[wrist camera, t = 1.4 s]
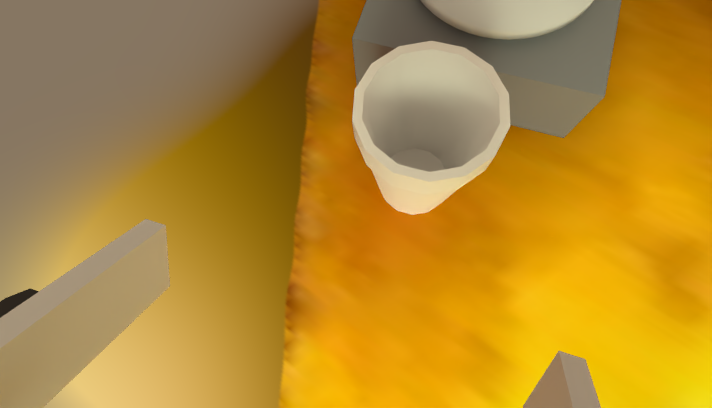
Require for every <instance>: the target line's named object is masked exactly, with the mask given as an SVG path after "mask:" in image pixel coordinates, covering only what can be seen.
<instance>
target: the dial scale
mask: <svg viewBox="0 0 712 408" xmlns="http://www.w3.org/2000/svg"><path fill="white" fill-rule="evenodd" d="M620 5H621V0H367V1H366V3H365V6H364V9H363V11H362V14H361V16H360V19H359V22H358V24H357V27H356V29H355V32H354V35H353V37H352V42H353V52H354V61H355V71H356V81H357V85H358V84H359V82H360V81H361V79H362V78H363V76H364V74H365V73H366V71H367V70H368V68H369V67H370V65H371V64H372V63H373V62H375V61H376V60H378V59H379V58H381V57H383V56H384V55H386V54H387V53H389V52H391V51H392V50H394V49H395V48H397V47H398V46H404V45H409V44H415V43H421V42H427V41H436V42H441V43H445V44H450V45H455V46H460V47H465V48H466V49H468V50H469V51H471V52H472V53H474V54H475V55H477V56H478V57H480V58H481V59H482V60H484V61H485V62H487V63H488V64H490V65H491V66H493V68H494V70H495V71H496V73H497V75H498V76H499V78H500V80H501V81H502V83H503V85H504V86H505V88H506V90H507V91H508V93H509V105H510V125H514V126H518V127H522V128H526V129H530V130H534V131H538V132H542V133H546V134H550V135H554V136H558V137H562V138H564V137H565V136H566V135H567V134H568V133H569V132H570V131H571V130H572V129H573V128H574V127H575V126H576V125H577V124H578V123H579V122H580V121H581V120H582V119H583V118H584V117H585V116H586V115H587V114H588V113H589V112H590V111H591V110H592V109H593V108H594V107H595V106H596V105H597V104H598V103H599V102H600V101H601V100H602V99H603V98H604V97H605V92H606V86H607V80H608V74H609V69H610V63H611V57H612V51H613V46H614V40H615V34H616V28H617V23H618V17H619V11H620Z"/></svg>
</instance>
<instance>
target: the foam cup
mask: <svg viewBox="0 0 712 408" xmlns="http://www.w3.org/2000/svg"><path fill="white" fill-rule="evenodd" d="M352 123H353V130H354V137H355V140H356V142H357V144H358V147H359V149H360V151H361V153H362V156H363V158H364V160H365V162H366V165H367V166H368V167H369V168H370V169H371V170H372V172H373V174H374V177H375V179H376V181H377V183H378V186H379V188H380V190H381V193H382V195H383V197H384V199H385V201H386V202H387V203H389V204H390V205H391V206H392V207H393V208H395V209H396V210H397V211H400V212H404V213H408V214H411V215H414V214H420V213H426V212H429V211H431V210H432V209H433V208H435V207H436V206H438V205H439V204H441V203H442V202H443V201H444V200H446V199H447V198H448V197H449V196H450V195H452V194H453V193H454V192H455V191H456V190H458V189H459V188H461V187H462V186H463V185H465V184H466V183H468V182H469V181H471V180H472V179H473V178H475V177H476V176H478V175H479V174H481V173H482V172H483V171H485V170H486V168H487V167H488V165H489V164H490V162H491V161H492V159H493V158H494V157H495V155H496V153H497V151H498V149H499V147H500V145H501V143H502V141H503V139H504V137H505V135H506V133H507V132H508V130H509V128H510V105H509V93H508V91H507V90H506V88H505V86H504V85H503V83H502V81H501V80H500V78H499V76H498V75H497V73H496V71H495V70H494V68H493V66H491V65H490V64H488V63H487V62H485V61H484V60H482V59H481V58H480V57H478V56H477V55H475V54H474V53H472V52H471V51H469V50H468V49H466V48H465V47H460V46H455V45H450V44H445V43H441V42H436V41H427V42H421V43H415V44H409V45H404V46H398V47H397V48H395V49H394V50H392V51H391V52H389V53H387V54H386V55H384V56H383V57H381V58H379V59H378V60H376V61H375V62H373V63H372V64H371V65H370V67H369V68H368V70H367V71H366V73H365V74H364V76H363V78H362V79H361V81H360V82H359V84H358V85H357V87H356V89H355V92H354V105H353V117H352Z"/></svg>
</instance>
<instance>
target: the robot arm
mask: <svg viewBox="0 0 712 408" xmlns="http://www.w3.org/2000/svg"><path fill="white" fill-rule="evenodd" d="M169 286H170V280H169V266H168V251H167V237H166V226H165V225H163V224H160V223H157V222H153V221H150V220H147V219H145V220H144V221H142V222H141V223H139V224H138V225H137V226H135V227H133V228H132V229H130V230H129V231H128V232H126V233H125V234H123V235H122V236H120V237H119V238H117V239H116V240H115V241H113V242H111V243H110V244H108V245H107V246H105V247H104V248H102V249H101V250H100V251H98V252H97V253H95V254H94V255H92V256H91V257H89V258H88V259H86V260H85V261H83V262H82V263H80V264H79V265H78V266H76V267H74V268H73V269H72V270H70V271H69V272H67V273H66V274H64V275H63V276H61V277H60V278H58V279H57V280H55V281H54V282H52V283H51V284H50V285H48V286H47V287H45V288H44V289H42V290H41V291H39V292H38V291H36V290H33V289H28V290H25V291H23V292H20V293H18V294H15V295H13V296H10V297H8V298H5V299H4V300H2V301H1V302H0V408H43V407H44V406H45V405H46V404H47V403H48V402H49V401H50V400H51V399H52V398H53V397H55V396H56V394H58V393H59V392H60V391H61V390H62V389H63V388H64V387H65V386H66V385H67V384H68V383H69V382H70V381H71V380H72V379H73V378H74V377H75V376H76V375H78V374H79V373H80V372H81V371H82V370H83V369H84V368H85V367H86V366H87V365H88V364H89V363H90V362H91V361H92V360H93V359H94V358H95V357H96V356H97V355H98V354H99V353H100V352H102V351H103V350H104V349H105V348H106V347H107V346H108V345H109V344H110V343H111V342H112V341H113V340H114V339H115V338H116V337H117V336H118V335H119V334H120V333H121V332H122V331H124V329H126V327H128V326H129V325H130V324H131V323H132V322H133V321H134V320H135V319H136V318H137V317H138V316H139V315H140V314H141V313H142V312H143V311H144V310H145V309H146V308H148V307H149V306H150V305H151V304H152V303H153V302H154V301H155V300H156V299H157V298H158V297H159V296H160V295H161V294H162V293H163V292H164V291H165V290H166V289H167V288H168V287H169ZM523 408H601V407H600V404H599V401H598V397H597V394H596V391H595V388H594V385H593V382H592V379H591V376H590V372H589V369H588V366H587V363H586V360H585V359H583V358H580V357H576V356H573V355H570V354H567V353H564V352H561V351H558V353H557V354H556V356H555V358H554V359H553V361H552V362H551V364H550V365H549V367H548V368H547V370H546V371H545V373H544V375H543V376H542V378H541V379H540V381H539V382H538V384H537V385H536V387H535V388H534V390H533V392H532V393H531V395H530V396H529V398H528V399H527V401H526V402H525V404H524V405H523Z"/></svg>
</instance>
